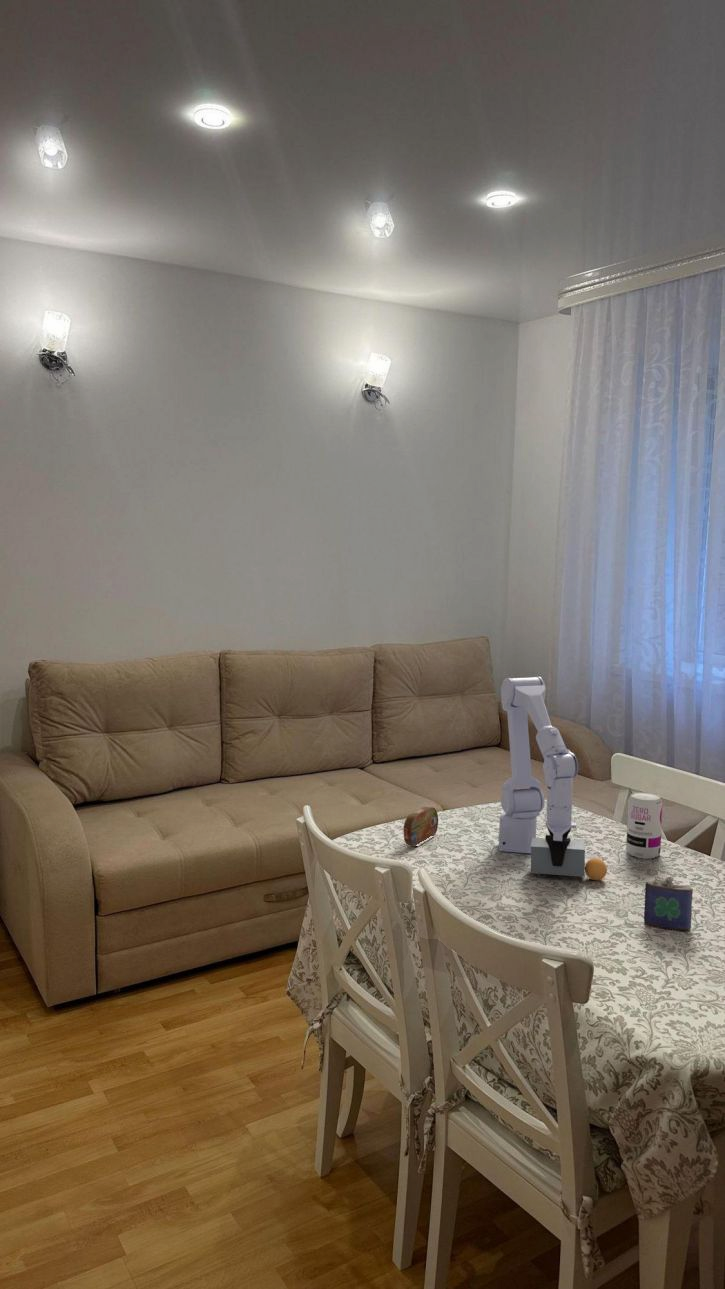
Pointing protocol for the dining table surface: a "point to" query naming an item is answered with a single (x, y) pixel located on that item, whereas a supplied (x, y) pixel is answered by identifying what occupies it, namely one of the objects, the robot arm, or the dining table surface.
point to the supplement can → (644, 825)
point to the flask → (668, 905)
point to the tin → (420, 825)
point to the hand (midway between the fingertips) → (557, 860)
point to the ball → (595, 869)
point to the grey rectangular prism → (571, 863)
